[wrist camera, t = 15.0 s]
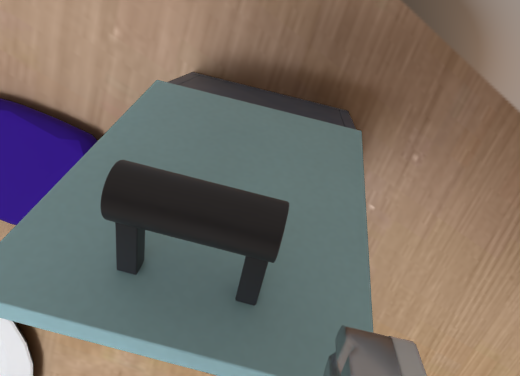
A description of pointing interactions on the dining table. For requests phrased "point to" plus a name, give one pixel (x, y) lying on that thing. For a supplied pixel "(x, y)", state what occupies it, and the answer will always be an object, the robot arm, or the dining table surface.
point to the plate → (14, 351)
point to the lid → (201, 239)
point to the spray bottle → (34, 156)
